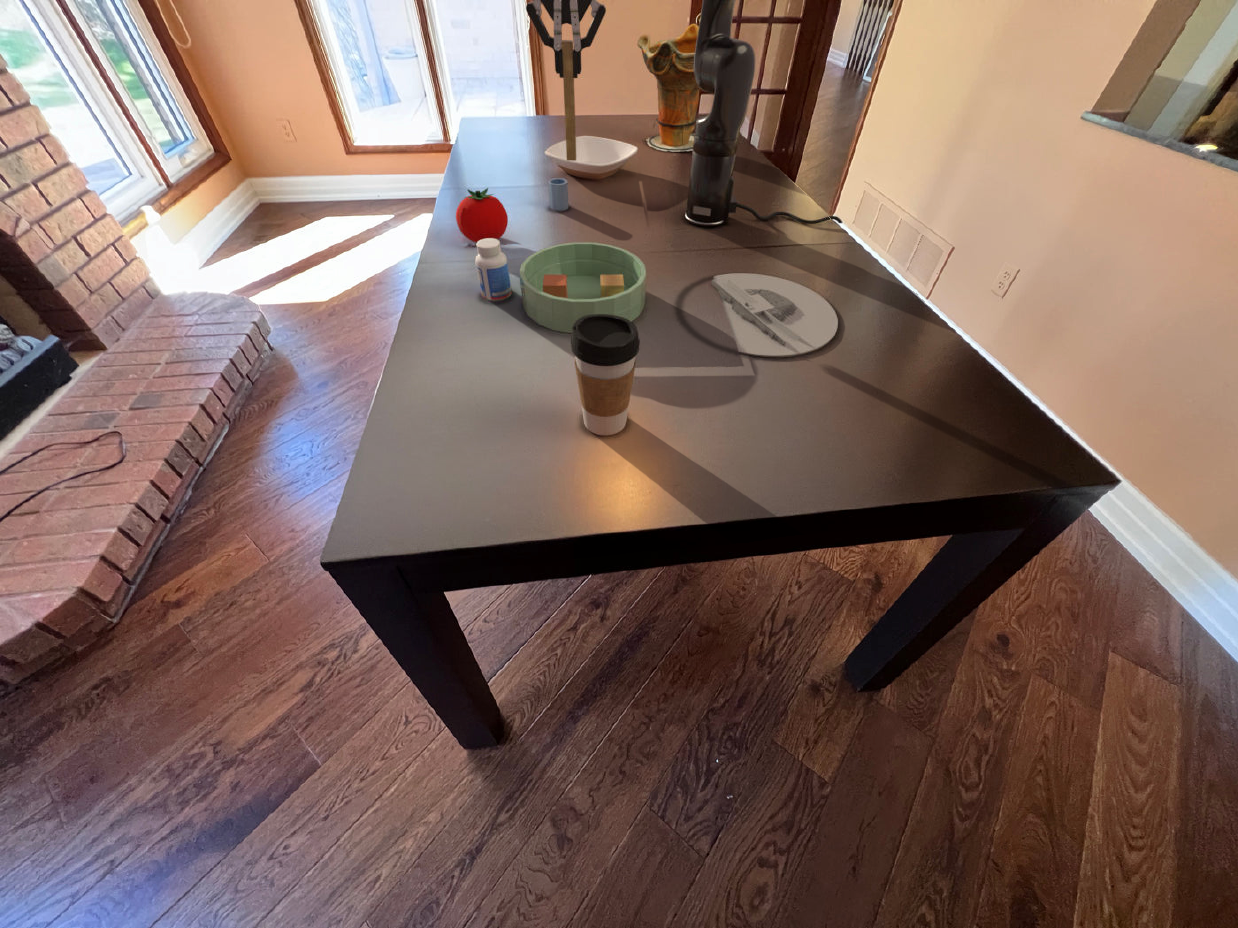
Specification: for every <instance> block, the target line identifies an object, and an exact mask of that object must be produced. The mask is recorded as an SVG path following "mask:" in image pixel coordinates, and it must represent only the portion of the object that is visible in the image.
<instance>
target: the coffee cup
mask: <svg viewBox="0 0 1238 928" xmlns="http://www.w3.org/2000/svg"><path fill="white" fill-rule="evenodd" d="M640 340H641V339H640V338H639V331H638V327H637V326H636V325H635V323H634V322H633V321H632V322H631V321H629V320H628V319H625V318H623V317H619V316H615V315H607V314H593V315H586V316H583V317H581V318H579V319H578V320H577V321H576V322H575V323H574V325H573V327H572V333H571V338H570V345H571V346H570V349H571V352H572V353H573V356H574V357H575V358H574V367H575V374H576V379H577V385H578V386H577V387H578V392H579V400H580V404H581V410H582V418H583V424H584V426H585V428H586V429H587V430H588V431H589V432H590V433H592V434H595V435H597V436H612V435H615V434H618V433H619V432H622V430H623V429H624V428H625V426H626V424H627V419H628V412H629V405H630V401H631V394H632V388H633V382H634V376H635V370H636V364H637V363H636V361H637V360H636V356H637V355H638V354H639V351H640V344H641V341H640Z"/></svg>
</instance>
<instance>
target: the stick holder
mask: <svg viewBox="0 0 1238 928" xmlns="http://www.w3.org/2000/svg"><path fill="white" fill-rule="evenodd" d="M547 186H548V203H549V208H550V209H551V210H553V211H557V212H558V211H559V212H560V211H566V210H568V209H569V208H570V207H569V206H570V204H569V184H568V180H567V179H565V178H562V177H555V178H553V177H552V178H550V179H548V180H547Z"/></svg>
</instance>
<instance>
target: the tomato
mask: <svg viewBox="0 0 1238 928" xmlns="http://www.w3.org/2000/svg"><path fill="white" fill-rule="evenodd" d="M466 190H467V192H468V193H469V195H467V196H465V197H464V198H463V199H462V200H461V201H460V202H459V204H458V206H457V208H456V210H455V211H456V212H455V221H456V224H457V227H458V230H459V232H460V233H461V234H462V235H463V236H464V237H466V239H468V240H470V241H471V242H473V243H477V242H478V241H479V240H482V239H486V238H494V239H497V240H499V239H500V238H502V236H504V234H505V232H506V230H507V228H508V224H509V223H508V222H509V218H508V217H509V216H508V213H507V211H506V209H505V206H504V204H503V203H502V202H501V201H500V199H498V198H497V197H496V196H494V193H491V194H487V193H488V191H489V187H487V188H485V189H484V190H482V191H480V190H475V191H472V190H470V189H468V188H467V189H466Z"/></svg>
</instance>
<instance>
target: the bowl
mask: <svg viewBox="0 0 1238 928" xmlns="http://www.w3.org/2000/svg"><path fill="white" fill-rule="evenodd" d="M638 150H639V148H638V146H635V145H633V144H631V143H627V142H624V141H620V140H616V139H611V138H605V137H600V136H599V137H598V136H592V135H581V136H576V161H572V160H567V154H566V139H565V140H562V141H559V142H557V143H555V144H553V145H551V146H549V147H548V148H547V149H545V151H544V154H545V156H547V157H548V158H549V159H550V160H551V161H552V162H553V163H555V164H556V165H557V166H558V167H559V168H560V169H561V170H562V171H563V172H564V173H566V174H569V175H571V176H574V177H577V178H581V179H582V178H583V179H588V180H596V181H597V180H602V179H607V178H609V177H611V176H613V175H615V174H616V173H617V172H619V170H620V169H621V168H622V167H623V166H624V165H626V163H628V162H629V161H630V160H631V159H632V158H633V157H634V156H635V155H636V154H637V152H638Z"/></svg>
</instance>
